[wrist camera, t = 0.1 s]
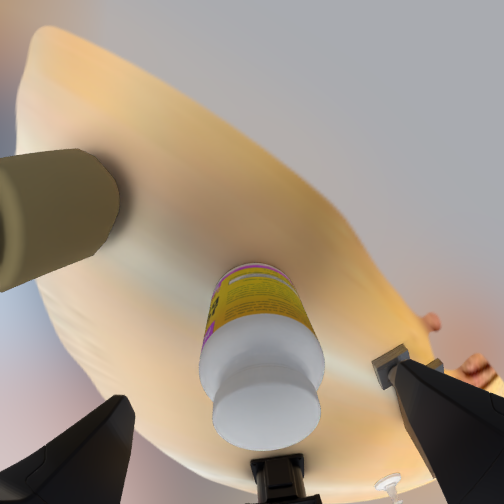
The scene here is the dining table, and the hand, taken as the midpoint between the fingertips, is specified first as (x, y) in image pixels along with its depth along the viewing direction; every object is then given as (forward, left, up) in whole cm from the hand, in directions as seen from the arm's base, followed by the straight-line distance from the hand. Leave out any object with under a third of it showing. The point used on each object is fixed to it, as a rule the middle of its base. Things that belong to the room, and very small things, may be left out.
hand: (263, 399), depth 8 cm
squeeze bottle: (+7, +12, -15) cm, 20 cm away
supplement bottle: (-3, 0, -15) cm, 15 cm away
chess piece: (-42, -18, -15) cm, 48 cm away
